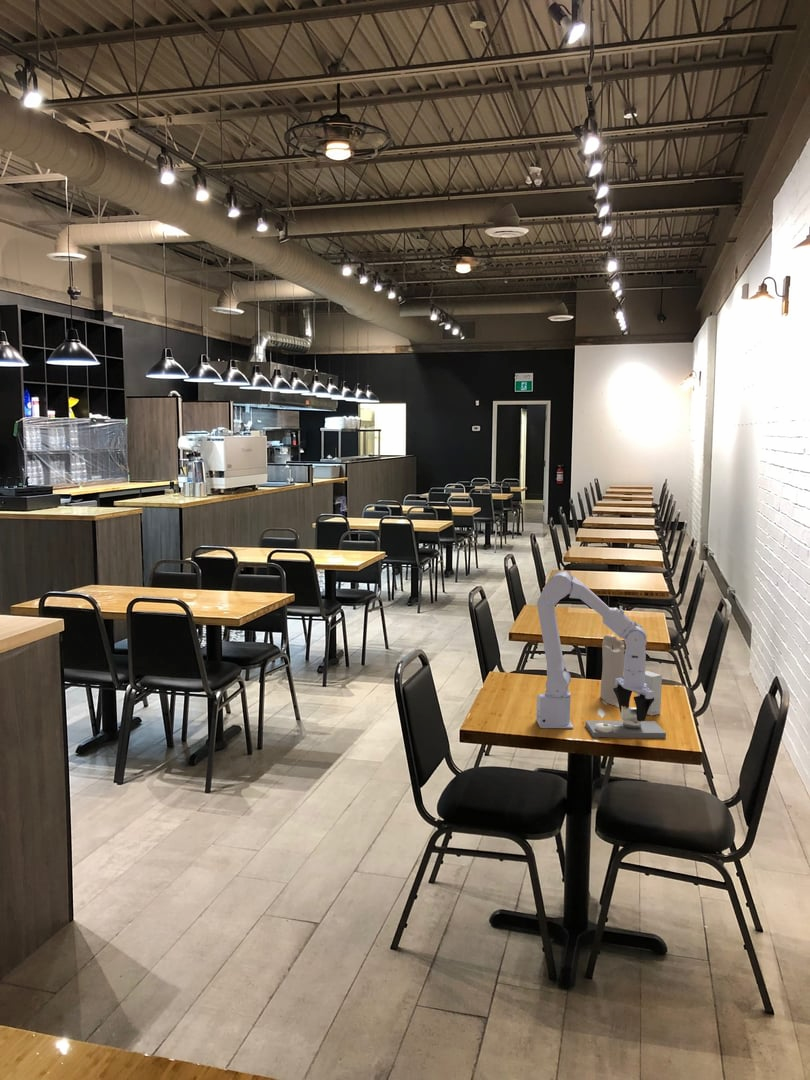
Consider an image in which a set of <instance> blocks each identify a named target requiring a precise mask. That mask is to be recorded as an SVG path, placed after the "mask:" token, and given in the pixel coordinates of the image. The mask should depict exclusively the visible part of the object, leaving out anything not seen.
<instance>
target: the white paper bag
mask: <svg viewBox="0 0 810 1080" xmlns="http://www.w3.org/2000/svg"><path fill="white" fill-rule="evenodd" d="M601 645H602V646H601V647H602V649H601V650H602V651H601V653H602V670H601V671H602V672H601V679H600V680H601V681H600V696H599V697H600V699H602V700H603V701H604V700H605V701H604V702H605V703H607V704H608V705H610V704H611V706H615V707H616V708H619V703H618V700H617V697H616V694H615V692H614V691H613V688H617V687H618V686H616V685H615V679H616V678H622V679H624V656H625V649H626V646H625V641H623V640H621V639H618V638H617V636H614V635H613V636H612V635H604V636H603V640H602V643H601ZM629 708H631V707H630V705H629Z"/></svg>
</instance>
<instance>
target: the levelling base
mask: <svg viewBox="0 0 810 1080" xmlns="http://www.w3.org/2000/svg"><path fill="white" fill-rule="evenodd" d="M584 724H585V728H586V729H587V730H588V732H589V731H590V732H589V733H590V735H591V734H592V735H591V736H592V737H609V738H610V739H666V737H667V733H666V731H665V730H664V729H663V728H662V727H661V726H660V725H659V724H658V722H656V720H654V721H653V720H645V721H642V722H641V728H638V729H632V728H627V727H624V726H623V720H585V723H584ZM611 737H612V738H611ZM613 737H614V738H613ZM609 738H608V739H609Z"/></svg>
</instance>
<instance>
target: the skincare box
mask: <svg viewBox="0 0 810 1080" xmlns="http://www.w3.org/2000/svg"><path fill="white" fill-rule="evenodd" d="M662 679H663V675H662V674H659V673H656V672H652V671H649V670H645V684H647V688H649V689H650V690H651V691H653V697H654V701H653V702H652V704H651V705H650V707H649V709H648V712H647V715H648V716H655V715H656V716H657V715H660V714H661V712H662V711H661V709H662V707H661V706H662V705H661V704H662V682H663V680H662ZM636 694H637V693H636ZM636 696H640V695H639V694H637V695H636Z"/></svg>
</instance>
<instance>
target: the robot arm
mask: <svg viewBox="0 0 810 1080" xmlns="http://www.w3.org/2000/svg"><path fill="white" fill-rule="evenodd" d="M568 595H569V599H579V600H581V601H582V602H583V603H585V604H586V605H587V606H589V607H590V608H591V609H592V610H594V611H595V612H596V613H597V614H599V615H600V616H601V617H602V623H603V625H605V626H606V627H607V628H609V629H610V631H612V632H613V633H614V634H616V635H617V636H618V637H619V638H620V639H624V641H623V642H624V645H625V651H624V673H623V679H622V678H616V679H615V685H616V686H618V687H617V688H613V691H614V692H615V694H616V697H617V700H618V703H619V707H618V708H619V712H620V713H621V707H622V705H624V706H625V707H626V708H630V707H629V706H630V702H631V701H630V700H631V697H632V693H635V694H639V695H640V696H637V695H636V696H633V700H634V703H635V708H636V710H637V721H639V722H640V721H646V717H647V715H648V714H647V712H648V709H649V707H650V705H651V704H652V702H653V701H654V697H653V691H651V690H650V689H649V688H647V684H645V671H646V661H647V659H646V657H647V655H646V649H647V648H646V646H647V643H648V640H647V637H648V635H647V632H646V630H645V629H644V628H643V626H642V625H639V624H638V622H637V621H633V620H632V619H631V618H630V617H629V616H628V615H626V614H625V610H624V609H622V608H620V609H619V608H618V607H609V606H608V605H607V604H606V603H605V602H604V601H603V600H602V599H601V598H600V597H599V596H598V595H596V593H594V592H593V591H592V590H591V588H589V587H588V586H587V585H586V584H585V583H583V582H582V581H581V580H579V578H576V577H575V576H573V575H572V573H570V572H568V571H566V570H559V571H557V572H555V573H554V574H553V575H552V576H551V577H550V578H549V579H548V581H547V582H546V583H545V585H544V587H543V589H542V591H541V593H540V595H539V598H538V599H537V601H536V606H537V611H538V613H537V614H538V619H539V624H540V625H539V626H540V630H541V636H542V642H543V643H542V644H543V647H544V655H545V659H546V660H545V662H546V677H547V678H546V681H545V693H539V694H537V697H536V716H535V717H536V718H535V721H536V723H537V725H538V726H539V728H540V729H574V725H573V723H572V722H571V701H572V700H571V697H572V693H571V692H570V690H569V686H570V683H571V681H572V677H571V674H570V672H569V671H568V669H567V667H566V663H565V660H564V656H563V650H562V644H561V638H560V632H559V626H558V619H557V614H556V613H557V612H556V608H555V607H556V605H557V604H558V603H559V601H560V600H562V599H564V598H566V596H568Z"/></svg>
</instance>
